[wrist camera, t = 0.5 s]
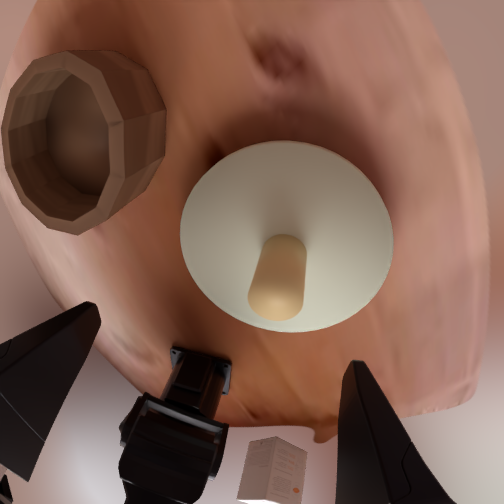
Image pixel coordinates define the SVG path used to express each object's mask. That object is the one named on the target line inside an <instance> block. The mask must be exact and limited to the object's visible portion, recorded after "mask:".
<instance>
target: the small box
mask: <svg viewBox="0 0 504 504" xmlns="http://www.w3.org/2000/svg"><path fill="white" fill-rule="evenodd" d="M306 460H307V452H306V451H304V450H302V449H300V448H298V447H296V446H294V445H292V444H290V443H288V442H286V441H284V440H282V439H280V438H278V437H271V438H267V439H262V440H257V441H251V442H249V446H248V451H247V455H246V460H245V464H244V469H243V473H242V478H241V482H240V486H239V491H238V495H237V500H239V501H242V502H245V503H249V504H301V500H302V492H303V485H304V477H305V469H306Z"/></svg>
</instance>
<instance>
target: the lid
mask: <svg viewBox="0 0 504 504" xmlns="http://www.w3.org/2000/svg"><path fill="white" fill-rule="evenodd" d="M393 241H394V238H393V230H392V224H391V221H390V217H389V214H388V211H387V209H386V207H385V205H384V202H383V200H382V198H381V196H380V195H379V193H378V191H377V190H376V188H375V187H374V185H373V184H372V182H371V181H370V180H369V179H368V178H367V177H366V176H365V174H364V173H363V172H362V171H361V170H360V169H358V168H357V167H356V166H355V165H354V164H352V163H351V162H350V161H349V160H347V159H345V158H344V157H342V156H340V155H339V154H337V153H335V152H333V151H330V150H328V149H326V148H323V147H321V146H317V145H314V144H310V143H306V142H299V141H290V140H281V141H268V142H262V143H257V144H253V145H250V146H247V147H244V148H242V149H239V150H237V151H235V152H233V153H231V154H229V155H228V156H226V157H225V158H223V159H222V160H220V161H219V162H218V163H216V164H215V165H214V166H213V167H212V168H211V169H210V170H209V171H208V172H206V173H205V174H204V175H203V176H202V178H201V179H200V180H199V181H198V183H197V184H196V185H195V186H194V188H193V190H192V191H191V193H190V195H189V197H188V199H187V201H186V204H185V207H184V209H183V213H182V218H181V224H180V242H181V249H182V253H183V257H184V260H185V263H186V266H187V268H188V270H189V272H190V274H191V276H192V278H193V279H194V281H195V282H196V284H197V285H198V287H199V288H200V289H201V291H202V292H203V293H204V294H205V295H206V296H207V297H208V298H209V299H210V300H211V301H212V302H213V303H214V304H215V305H216V306H218V307H219V308H220V309H222V310H223V311H224V312H226V313H228V314H229V315H231V316H233V317H234V318H236V319H238V320H240V321H243V322H245V323H247V324H250V325H253V326H255V327H259V328H263V329H267V330H272V331H279V332H306V331H313V330H318V329H322V328H326V327H329V326H332V325H334V324H337V323H339V322H341V321H343V320H345V319H347V318H349V317H351V316H352V315H354V314H355V313H357V312H358V311H359V310H361V309H362V308H363V307H364V306H365V305H367V304H368V302H369V301H370V300H371V299H372V298H373V297H374V296H375V295H376V293H377V292H378V290H379V289H380V287H381V286H382V284H383V282H384V280H385V278H386V276H387V274H388V271H389V268H390V265H391V261H392V255H393Z"/></svg>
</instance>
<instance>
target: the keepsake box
mask: <svg viewBox="0 0 504 504" xmlns="http://www.w3.org/2000/svg"><path fill="white" fill-rule="evenodd" d="M165 128H166V108H165V106H164V104H163V102H162V99H161V97H160V95H159V93H158V91H157V89H156V87H155V85H154V83H153V80H152V78H151V76H150V74H149V72H148V70H147V69H146V68H144V67H142V66H141V65H139V64H137V63H135V62H134V61H132V60H130V59H129V58H127V57H125V56H123V55H122V54H120V53H118V52H116V51H101V50H73V51H63V52H59V53H56V54H52V55H49V56H45V57H42V58H39V59H35V60H33V61H32V62H31V64H30V65H29V66H28V67H27V69H26V70H25V71H24V72H23V74H22V75H21V76H20V77H19V79H18V80H17V81H16V83H15V84H14V85H13V87H12V88H11V89H10V93H9V97H8V100H7V104H6V108H5V113H4V117H3V122H2V126H1V134H2V145H3V154H4V162H5V169H6V171H7V173H8V176H9V178H10V180H11V182H12V184H13V186H14V189H15V191H16V193H17V195H18V197H19V199H20V201H21V203H22V204H23V205H24V206H25V207H26V208H27V209H28V210H29V211H30V212H31V213H32V214H33V215H34V216H35V217H36V218H37V219H38V220H39V221H40V222H42V223H43V224H44V225H45V226H46V227H47V228H49V229H53V230H57V231H61V232H65V233H70V234H74V235H80V234H82V233H83V232H85V231H87V230H89V229H91V228H93V227H95V226H97V225H98V224H100V223H102V222H104V221H106V220H108V219H109V218H110V217H111V216H113V215H114V214H115V213H116V212H118V211H119V210H120V209H121V208H123V207H124V206H125V205H127V204H128V203H129V202H130V201H132V200H133V199H134V198H136V197H137V196H138V195H140V194H141V193H142V192H144V191H145V190H146V188H147V186H148V184H149V182H150V181H151V179H152V177H153V175H154V173H155V172H156V170H157V168H158V166H159V165H160V163H161V161H162V159H163V158H164V156H165Z"/></svg>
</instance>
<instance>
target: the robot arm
mask: <svg viewBox="0 0 504 504" xmlns="http://www.w3.org/2000/svg"><path fill="white" fill-rule="evenodd" d="M100 326H101V318H100V314H99V311H98V307H97V305H96V304H95V303H92V302H89V301H86V302H83V303H81V304H79V305H77V306H75V307H73V308H71V309H69V310H67V311H65V312H63V313H61V314H59V315H57V316H55V317H53V318H51V319H49V320H47V321H45V322H43V323H41V324H39V325H37V326H35V327H33V328H31V329H29V330H27V331H25V332H23V333H21V334H19V335H17V336H16V337H14V338H13V339H10V340H8V341H6V342H4V343H2V344H0V504H12V502H13V498H12V495H11V491H10V487H9V483H8V479H7V476H6V475H5V472H6V470H7V469H8V470H10V471H11V472H13V473H14V474H16V475H17V476H19V477H20V478H22V479H23V480H25V481H27V482H28V481H29V480H30V477H31V474H32V472H33V469H34V467H35V465H36V462H37V460H38V457H39V455H40V453H41V450H42V448H43V446H44V443H45V442H44V441H46V439H47V436H48V434H49V432H50V430H51V427H52V425H53V423H54V421H55V419H56V417H57V415H58V413H59V410H60V409H61V407H62V404H63V402H64V400H65V398H66V396H67V394H68V392H69V390H70V388H71V387H72V384H73V383H74V381H75V379H76V377H77V375H78V373H79V371H80V369H81V368H82V366H83V364H84V362H85V360H86V358H87V356H88V353H89V351H90V349H91V347H92V344H93V342H94V340H95V337H96V335H97V333H98V330H99V328H100ZM170 355H171V362H172V369H173V371H172V373H171V375H170V377H169V379H168V382H167V384H166V386H165V388H164V390H163V393H162V395H161V397H160V399H159V398H156V397H154V396H152V395H150V394H149V393H147V392H145V393H144V394H143V396H139V397H138V398H137V400H136V402H135V404H134V406H133V408H132V410H131V411H130V412H129V413H128V415H127V416H126V417H125V419H124V420H123V421H122V422H121V424H120V426H119V430H120V432H121V440H120V446H123V447H124V450H123V453H122V455H121V458H120V461H119V466H118V469H119V474H120V478H121V479H122V481H123V485H124V489H125V493H126V500H125V503H124V504H193V503H194V502H196V501H197V500H198V499H199V498H200V496H201V495H202V493H203V490H204V488H205V485H206V482H207V480H210V481H213V480H214V478H215V477H216V475H217V473H218V470H219V468H220V465H221V462H222V458H223V454H224V449H225V444H226V438H227V434H228V428H229V424H227V423H221V422H218V421H215V420H214V417H215V414H216V410H217V407H218V404H219V401H220V398H221V394H222V395H228V392H229V385H230V376H231V367H232V363H231V362H230V361H227V360H223V359H219V358H215V357H211V356H207V355H204V354H200V353H196V352H192V351H189V350H185V349H182V348H178V347H174V346H173V347H171V349H170ZM337 459H338V460H337V483H336V501H335V504H457V503H455V502H454V501H453V500H452V499H451V498H450V497H449V496H448V494H447V493H446V492H445V490H444V489H443V487H442V486H441V485H440V483H439V482H438V480H437V479H436V478H435V476H434V475H433V474H432V472H431V471H430V469H429V468H428V466H427V465H426V464H425V462H424V461H423V459H422V457H421V456H420V454H419V452H418V451H417V449H416V447H415V445H414V444H413V442H411V439H410V437H409V435H408V434H407V432H406V430H405V428H404V427H403V425H402V423H401V421H400V420H399V418H398V416H397V415H396V413H395V411H394V410H393V408H392V406H391V405H390V403H389V401H388V399H387V398H386V396H385V395H384V393H383V391H382V390H381V388H380V386H379V385H378V383H377V381H376V380H375V378H374V376H373V375H372V373H371V372H370V370H369V368H368V367H367V365H366V363H365V362H364V361H360V360H352V361H351V362H350V364H349V366H348V368H347V370H346V372H345V373H344V376H343V380H342V390H341V399H340V408H339V417H338V458H337Z"/></svg>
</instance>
